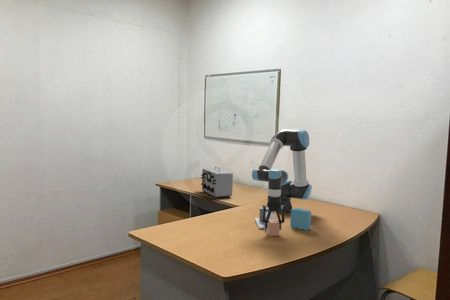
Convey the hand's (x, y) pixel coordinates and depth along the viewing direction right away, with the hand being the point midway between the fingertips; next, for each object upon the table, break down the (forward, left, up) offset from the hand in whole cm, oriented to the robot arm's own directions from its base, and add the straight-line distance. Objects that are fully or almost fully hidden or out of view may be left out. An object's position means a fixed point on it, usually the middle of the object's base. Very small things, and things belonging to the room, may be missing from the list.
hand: (272, 233), depth 198 cm
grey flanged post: (0, -17, 0) cm, 17 cm away
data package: (-20, -12, -1) cm, 23 cm away
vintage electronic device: (+33, -106, -1) cm, 111 cm away
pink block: (0, 0, 0) cm, 0 cm away
